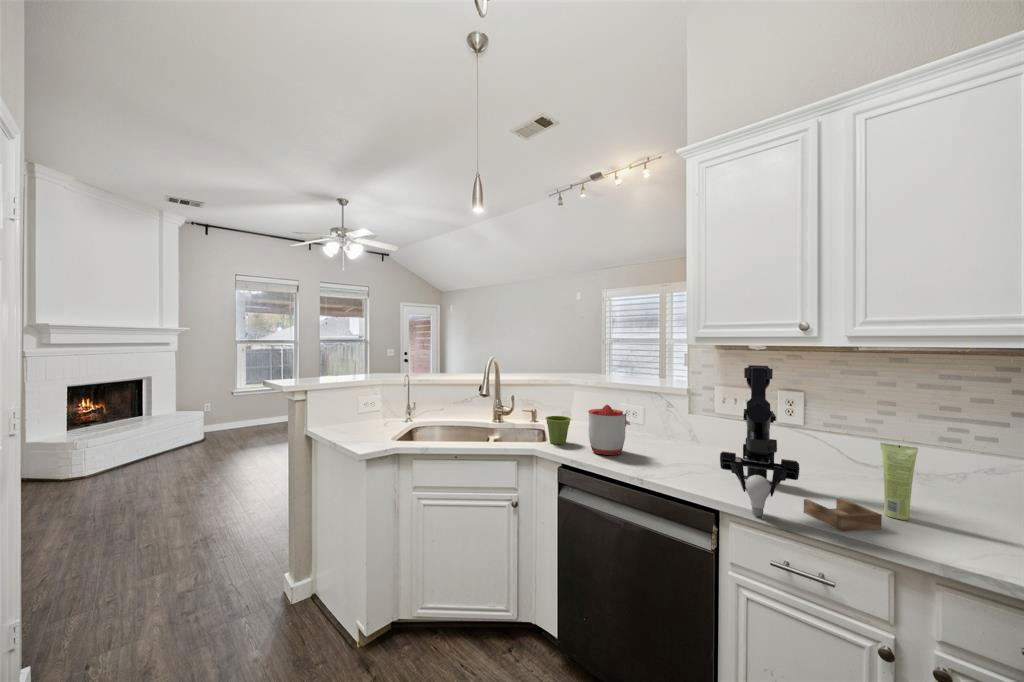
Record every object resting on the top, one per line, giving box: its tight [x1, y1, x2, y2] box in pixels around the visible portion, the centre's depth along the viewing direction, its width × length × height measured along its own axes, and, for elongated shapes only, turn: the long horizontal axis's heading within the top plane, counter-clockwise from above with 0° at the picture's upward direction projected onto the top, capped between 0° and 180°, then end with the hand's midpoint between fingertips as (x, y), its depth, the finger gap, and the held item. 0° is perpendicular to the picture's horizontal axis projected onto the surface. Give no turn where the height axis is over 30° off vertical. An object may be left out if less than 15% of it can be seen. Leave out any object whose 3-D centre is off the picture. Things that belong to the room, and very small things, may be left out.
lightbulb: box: [745, 475, 771, 518], centre depth 112 cm, size 6×6×11 cm
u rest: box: [803, 497, 883, 532], centre depth 110 cm, size 11×11×4 cm
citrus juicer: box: [587, 404, 631, 456], centre depth 175 cm, size 16×17×20 cm
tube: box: [879, 442, 919, 521], centre depth 113 cm, size 6×5×20 cm
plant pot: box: [544, 415, 572, 445], centre depth 190 cm, size 12×12×11 cm
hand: (757, 493), depth 111 cm, fingers closed on lightbulb, 6 cm apart
